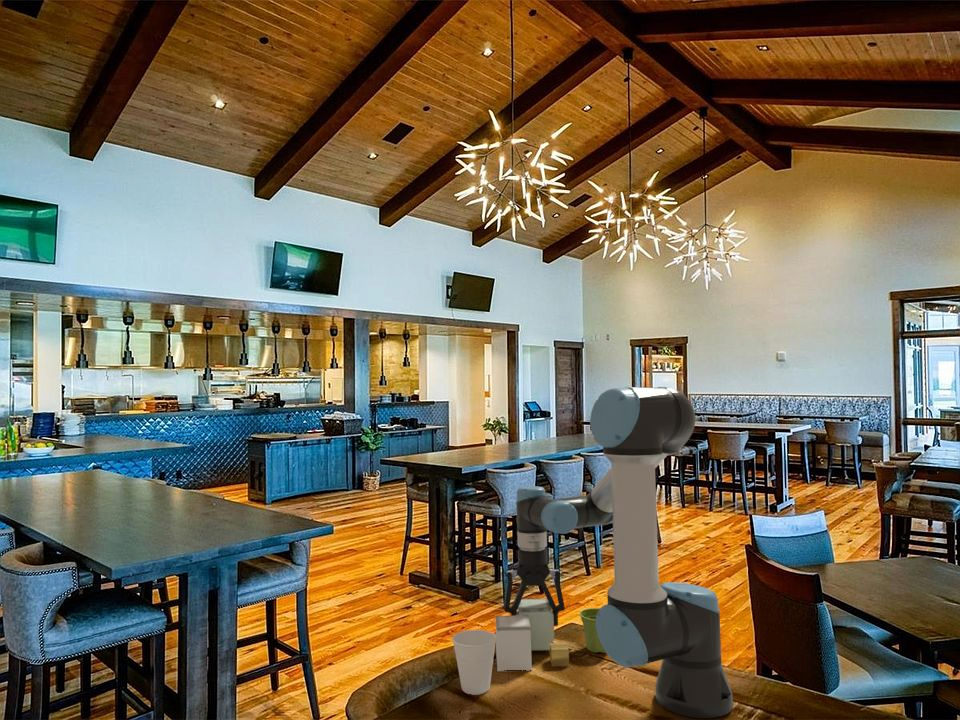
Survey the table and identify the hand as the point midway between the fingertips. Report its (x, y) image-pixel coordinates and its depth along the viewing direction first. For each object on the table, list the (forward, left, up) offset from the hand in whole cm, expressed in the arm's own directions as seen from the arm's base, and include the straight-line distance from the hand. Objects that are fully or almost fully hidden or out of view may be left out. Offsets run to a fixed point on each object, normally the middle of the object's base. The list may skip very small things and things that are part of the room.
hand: (535, 639), depth 160 cm
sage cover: (0, 0, -1) cm, 1 cm away
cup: (-22, +15, -3) cm, 27 cm away
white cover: (-9, +6, -2) cm, 11 cm away
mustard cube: (-9, -5, -3) cm, 11 cm away
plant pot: (-1, -16, -3) cm, 16 cm away
